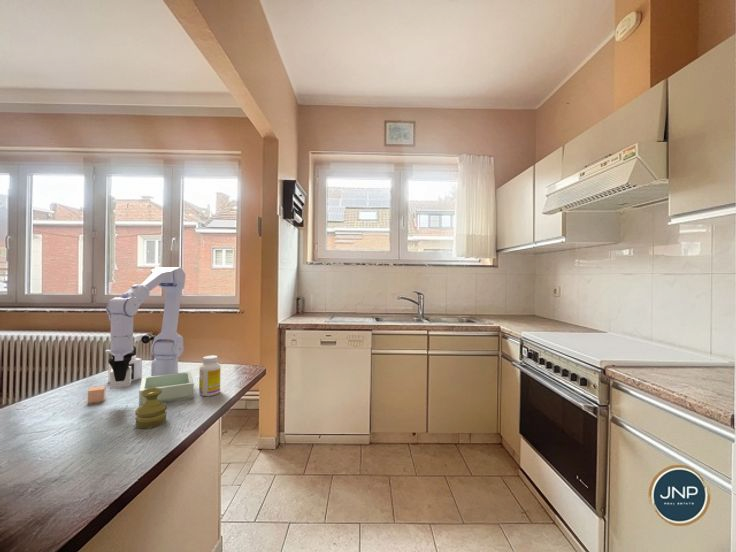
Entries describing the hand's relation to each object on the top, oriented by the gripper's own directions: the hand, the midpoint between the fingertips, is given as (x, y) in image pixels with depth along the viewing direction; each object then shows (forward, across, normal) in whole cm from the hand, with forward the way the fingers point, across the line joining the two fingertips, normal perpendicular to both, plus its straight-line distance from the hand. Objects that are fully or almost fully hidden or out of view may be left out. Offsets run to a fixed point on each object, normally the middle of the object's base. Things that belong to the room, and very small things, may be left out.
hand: (121, 378), depth 104 cm
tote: (+8, -3, +13) cm, 15 cm away
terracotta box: (+8, -8, -7) cm, 14 cm away
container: (+9, -28, -1) cm, 30 cm away
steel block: (+2, 0, 0) cm, 2 cm away
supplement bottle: (+9, +2, +25) cm, 27 cm away
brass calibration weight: (+9, +19, +9) cm, 23 cm away
